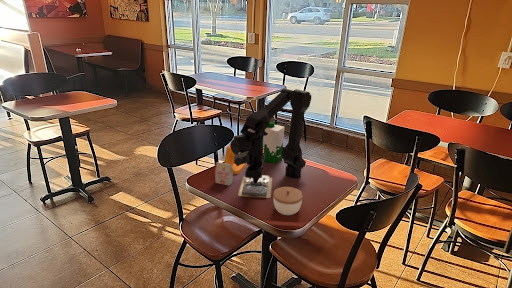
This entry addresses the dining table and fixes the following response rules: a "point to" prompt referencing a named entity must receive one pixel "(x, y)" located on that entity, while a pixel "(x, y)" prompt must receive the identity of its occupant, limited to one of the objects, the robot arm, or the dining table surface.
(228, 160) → the bracket
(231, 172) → the white printed packet
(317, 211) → the dining table surface
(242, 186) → the mounting board
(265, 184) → the fixed leaf
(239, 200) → the dining table surface
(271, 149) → the milk carton
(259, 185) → the loose leaf
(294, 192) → the lidded jar
